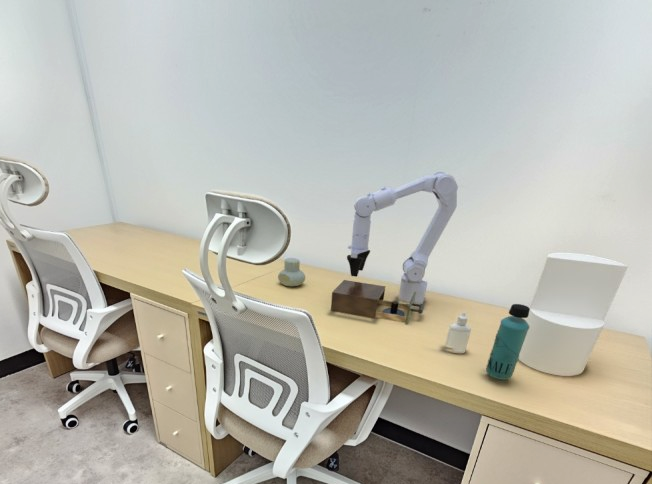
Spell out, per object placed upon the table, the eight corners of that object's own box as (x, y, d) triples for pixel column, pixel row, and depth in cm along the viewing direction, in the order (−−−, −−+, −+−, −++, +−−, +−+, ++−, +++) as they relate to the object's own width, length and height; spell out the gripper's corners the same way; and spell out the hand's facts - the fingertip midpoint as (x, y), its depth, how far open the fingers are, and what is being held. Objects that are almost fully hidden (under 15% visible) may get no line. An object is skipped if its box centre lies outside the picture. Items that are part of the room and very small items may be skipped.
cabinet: (382, 307, 140) (385, 286, 136) (374, 322, 129) (377, 299, 125) (342, 300, 145) (343, 279, 141) (330, 314, 133) (332, 292, 129)
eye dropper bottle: (461, 356, 111) (471, 317, 105) (441, 350, 114) (451, 311, 108) (466, 351, 114) (477, 313, 108) (447, 344, 117) (457, 307, 111)
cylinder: (512, 340, 121) (543, 249, 107) (576, 352, 115) (617, 257, 102) (517, 367, 106) (553, 266, 93) (590, 381, 101) (640, 276, 88)
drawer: (423, 312, 135) (427, 293, 132) (418, 328, 124) (422, 308, 121) (370, 303, 141) (373, 285, 138) (361, 318, 130) (363, 298, 126)
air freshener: (308, 285, 158) (309, 260, 153) (294, 290, 152) (294, 265, 147) (289, 278, 164) (289, 255, 159) (274, 283, 159) (274, 258, 154)
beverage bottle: (503, 371, 104) (526, 300, 94) (515, 385, 99) (542, 311, 89) (479, 371, 104) (500, 300, 94) (490, 385, 98) (514, 311, 88)
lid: (405, 311, 134) (407, 300, 132) (402, 319, 128) (404, 307, 126) (385, 307, 136) (386, 297, 134) (381, 315, 130) (382, 304, 128)
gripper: (355, 229, 142) (351, 266, 148) (343, 237, 130) (340, 277, 137) (374, 231, 140) (370, 268, 146) (364, 239, 128) (360, 280, 134)
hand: (357, 273), depth 141 cm, fingers open, 7 cm apart
